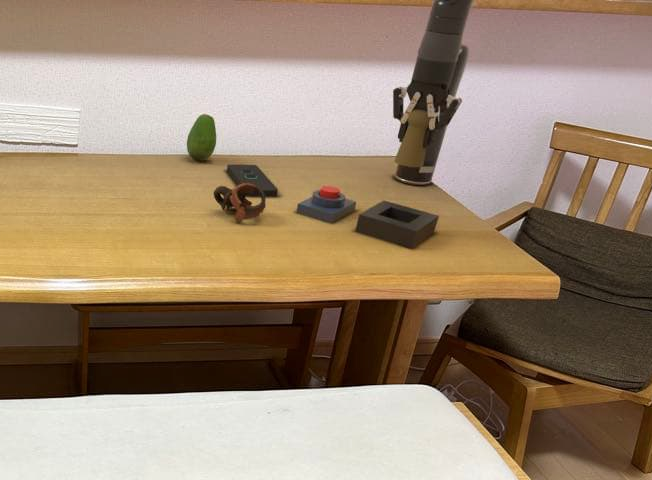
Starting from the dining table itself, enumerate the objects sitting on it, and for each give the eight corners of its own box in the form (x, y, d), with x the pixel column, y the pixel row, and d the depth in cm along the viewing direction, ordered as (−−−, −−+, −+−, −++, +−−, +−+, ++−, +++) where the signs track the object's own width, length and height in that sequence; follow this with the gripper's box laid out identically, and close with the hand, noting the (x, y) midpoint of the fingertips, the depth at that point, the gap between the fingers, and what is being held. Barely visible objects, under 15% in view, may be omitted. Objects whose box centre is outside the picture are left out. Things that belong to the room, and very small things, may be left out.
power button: (324, 191, 176) (326, 184, 175) (341, 196, 174) (343, 189, 173) (315, 196, 173) (317, 188, 172) (333, 201, 171) (334, 193, 170)
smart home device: (256, 164, 197) (279, 190, 181) (255, 170, 198) (278, 197, 182) (226, 163, 196) (246, 189, 180) (225, 170, 197) (245, 196, 181)
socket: (379, 217, 174) (383, 200, 172) (433, 232, 168) (439, 215, 166) (354, 231, 166) (359, 214, 164) (411, 248, 159) (416, 230, 157)
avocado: (215, 165, 200) (220, 118, 193) (185, 163, 200) (190, 116, 193) (212, 156, 207) (218, 111, 200) (184, 154, 207) (188, 109, 200)
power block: (320, 200, 182) (323, 184, 179) (354, 210, 177) (358, 194, 175) (296, 212, 174) (299, 195, 171) (331, 223, 169) (335, 206, 167)
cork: (425, 168, 158) (440, 114, 151) (395, 165, 158) (409, 110, 152) (421, 160, 162) (436, 107, 156) (393, 157, 163) (406, 104, 157)
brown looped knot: (261, 211, 174) (273, 187, 167) (251, 241, 170) (263, 218, 163) (212, 192, 174) (223, 167, 167) (201, 221, 170) (212, 197, 162)
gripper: (480, 60, 147) (453, 148, 157) (410, 48, 155) (389, 134, 164) (467, 64, 142) (440, 155, 152) (395, 52, 150) (374, 140, 159)
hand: (414, 143), depth 158 cm, fingers closed on cork, 4 cm apart
